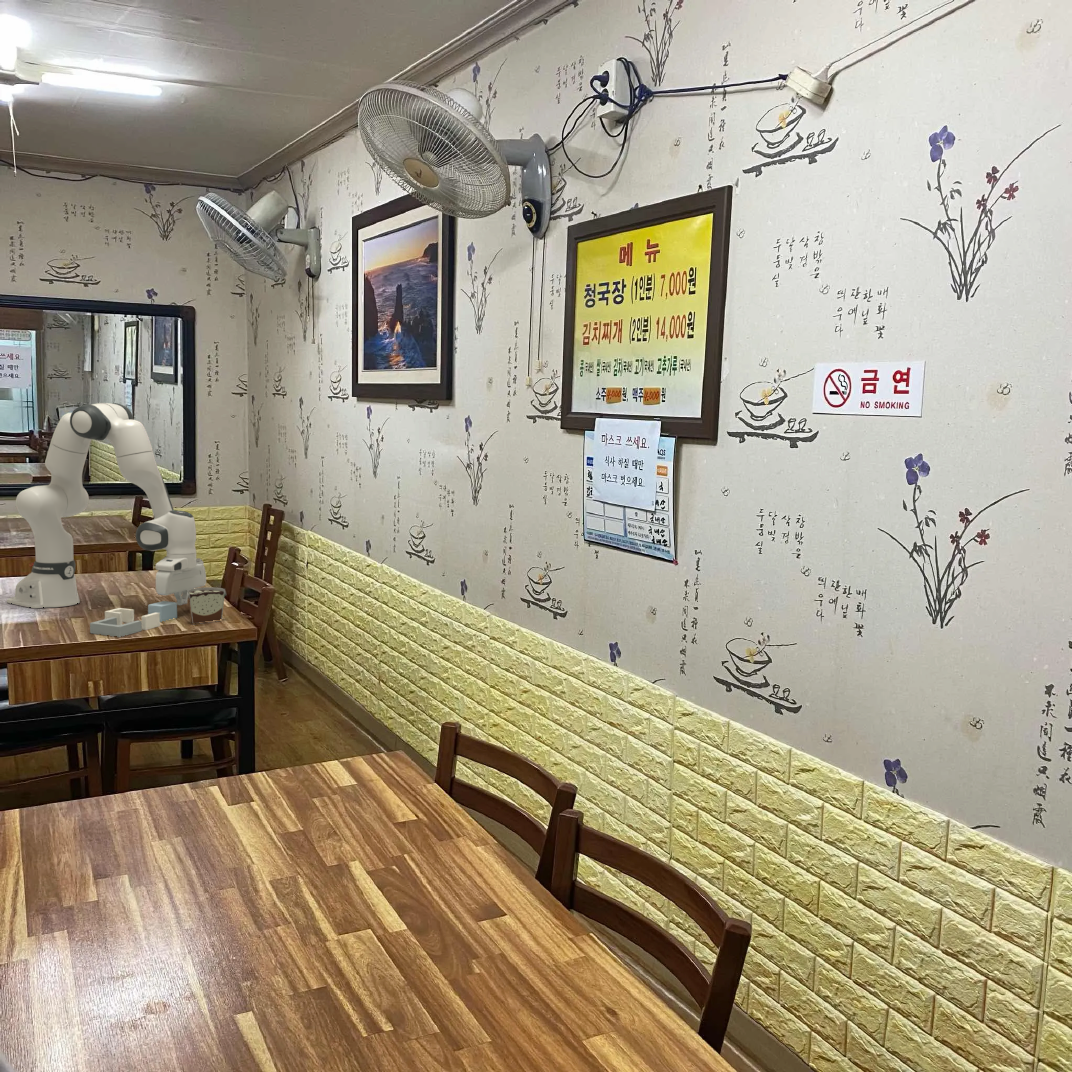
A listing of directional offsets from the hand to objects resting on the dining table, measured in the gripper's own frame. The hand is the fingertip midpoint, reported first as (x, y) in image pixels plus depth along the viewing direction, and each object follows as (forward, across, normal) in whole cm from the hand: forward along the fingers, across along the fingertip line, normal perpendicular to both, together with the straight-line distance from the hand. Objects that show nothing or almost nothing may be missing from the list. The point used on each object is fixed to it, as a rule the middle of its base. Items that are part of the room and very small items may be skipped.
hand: (182, 604), depth 310 cm
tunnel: (+3, +20, -2) cm, 20 cm away
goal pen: (+3, +28, 0) cm, 28 cm away
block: (+3, +9, 0) cm, 10 cm away
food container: (+3, +5, +12) cm, 13 cm away
